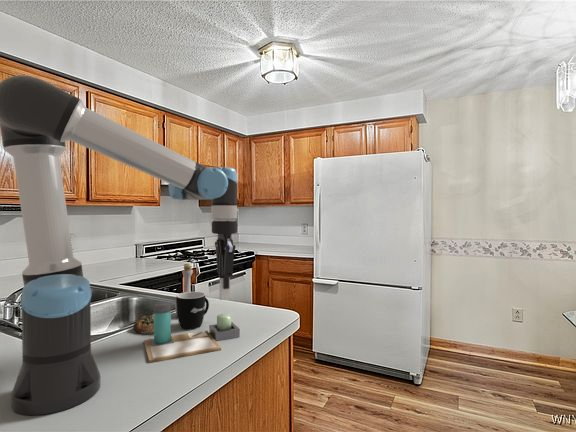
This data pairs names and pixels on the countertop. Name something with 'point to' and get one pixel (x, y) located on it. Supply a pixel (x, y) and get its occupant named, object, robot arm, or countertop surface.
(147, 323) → the bread roll
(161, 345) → the tan flat tray
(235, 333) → the button housing
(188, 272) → the potion bottle
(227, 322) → the button
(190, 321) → the mug
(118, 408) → the countertop surface
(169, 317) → the teal cylinder
